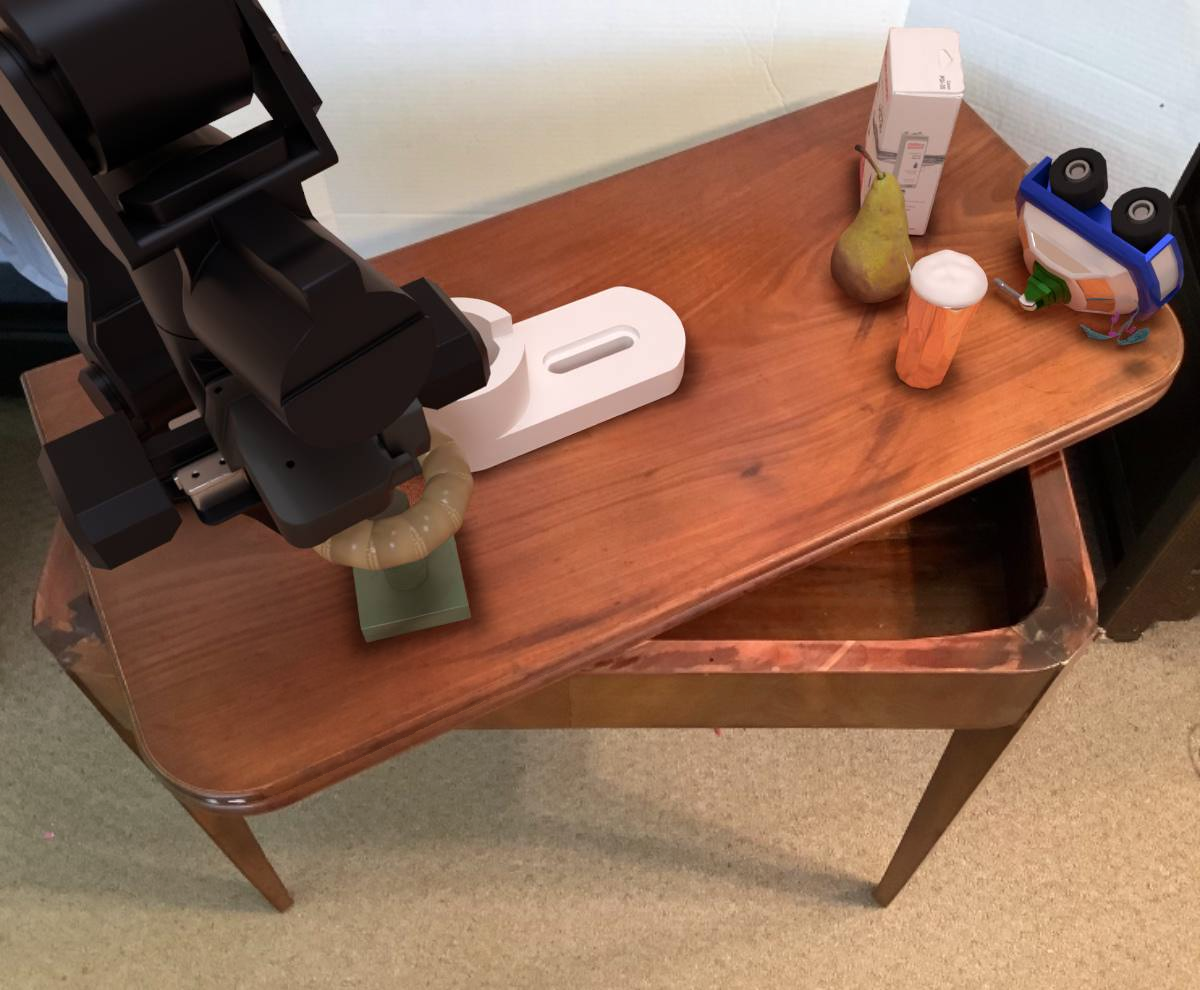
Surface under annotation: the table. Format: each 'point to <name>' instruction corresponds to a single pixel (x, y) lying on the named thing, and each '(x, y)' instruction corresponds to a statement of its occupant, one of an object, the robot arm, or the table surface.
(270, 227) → the robot arm
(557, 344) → the bracket
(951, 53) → the ink box
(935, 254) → the beer glass
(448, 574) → the stand
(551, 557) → the table surface
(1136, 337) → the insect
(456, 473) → the segmented ring
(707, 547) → the table surface
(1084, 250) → the toy car
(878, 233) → the fruit
